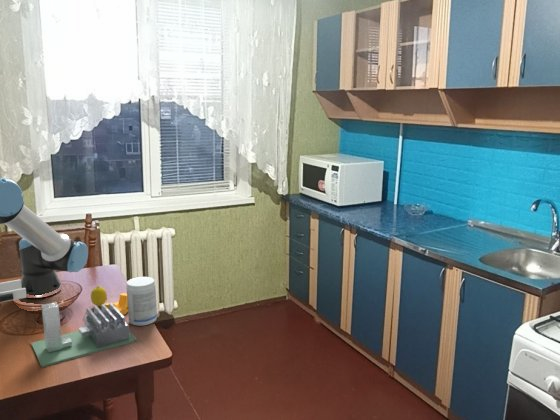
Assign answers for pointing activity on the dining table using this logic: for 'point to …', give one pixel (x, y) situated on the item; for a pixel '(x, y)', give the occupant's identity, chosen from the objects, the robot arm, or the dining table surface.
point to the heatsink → (105, 326)
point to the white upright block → (53, 328)
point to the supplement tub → (141, 301)
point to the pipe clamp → (121, 304)
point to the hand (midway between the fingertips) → (23, 288)
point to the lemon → (98, 296)
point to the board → (71, 348)
